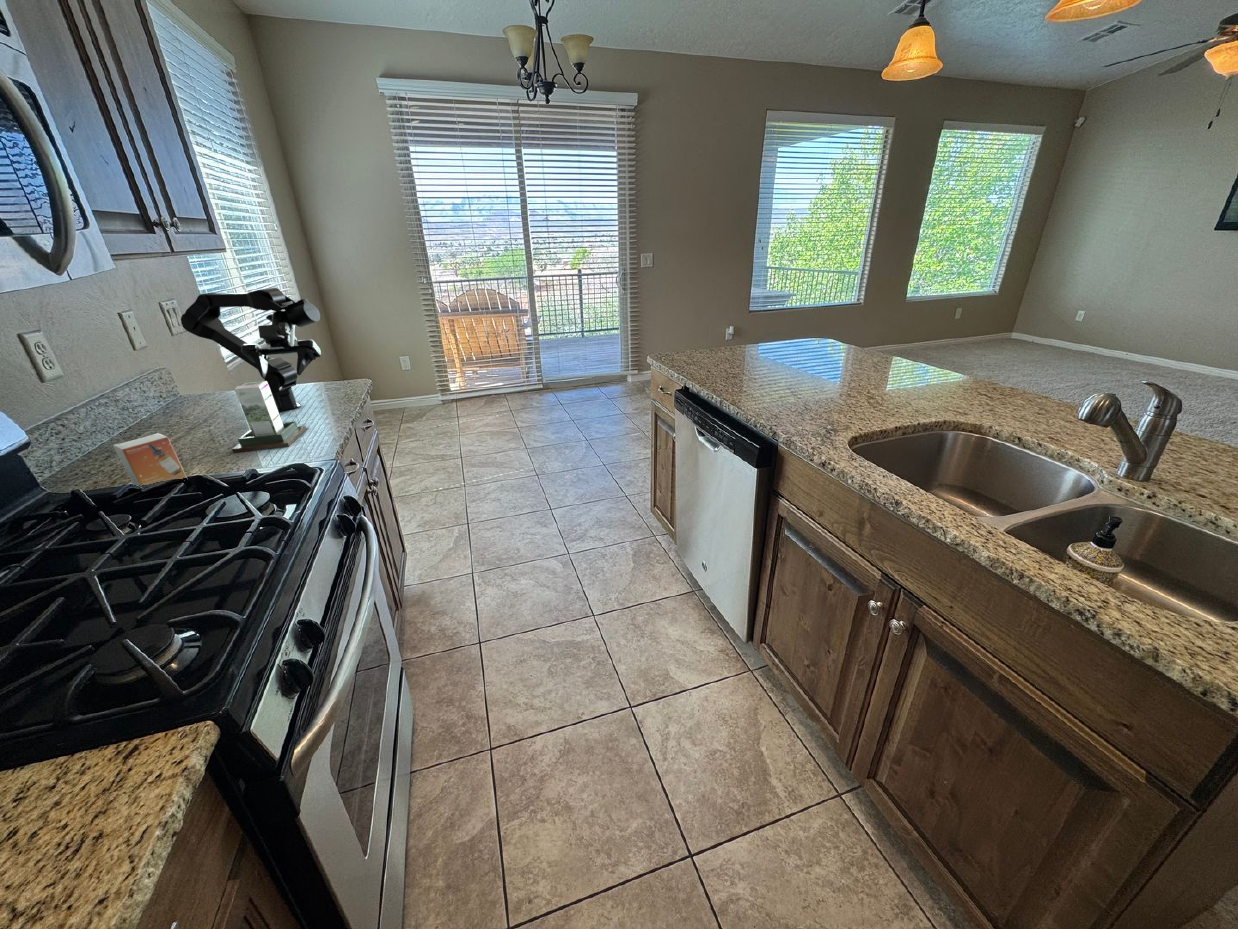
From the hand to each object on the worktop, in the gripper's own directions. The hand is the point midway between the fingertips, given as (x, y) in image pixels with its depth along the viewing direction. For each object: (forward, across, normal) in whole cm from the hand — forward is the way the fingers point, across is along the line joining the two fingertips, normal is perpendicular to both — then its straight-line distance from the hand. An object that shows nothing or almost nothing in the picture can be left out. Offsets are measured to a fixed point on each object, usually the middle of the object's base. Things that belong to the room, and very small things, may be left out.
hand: (280, 376), depth 138 cm
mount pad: (+20, -1, -1) cm, 20 cm away
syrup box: (+20, -1, -2) cm, 20 cm away
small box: (+36, -15, -16) cm, 42 cm away
